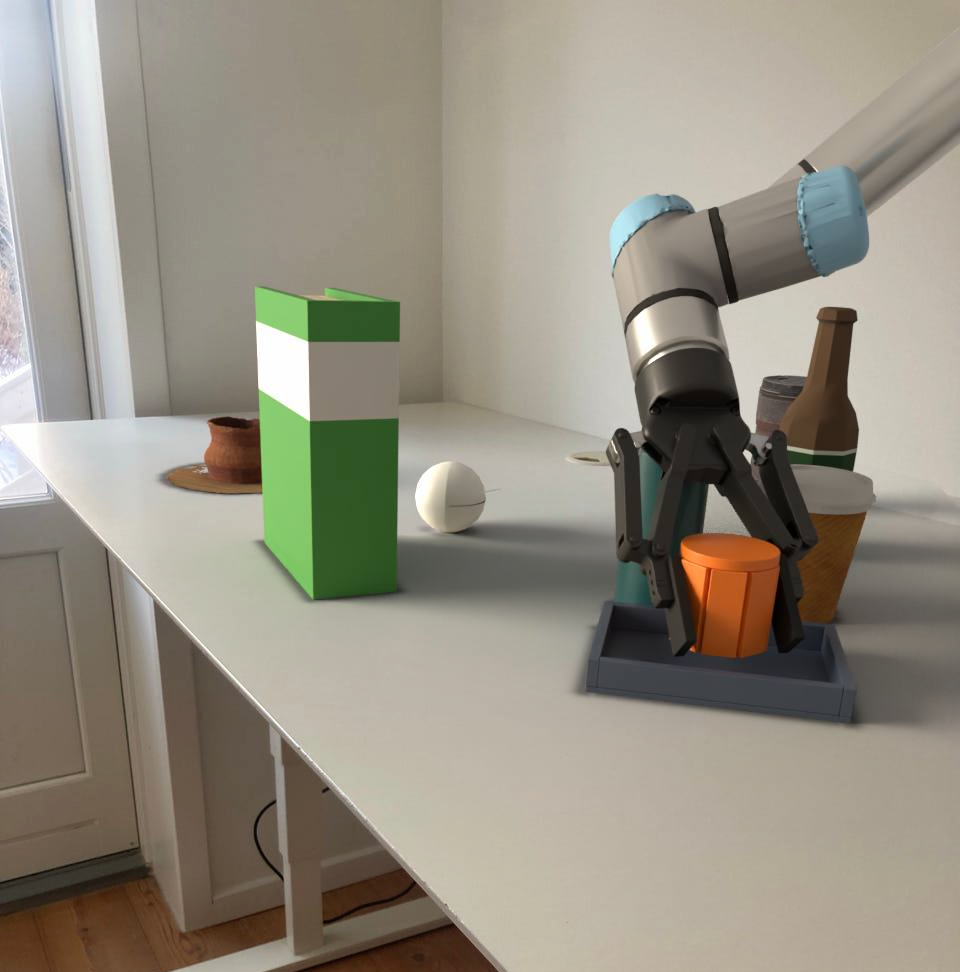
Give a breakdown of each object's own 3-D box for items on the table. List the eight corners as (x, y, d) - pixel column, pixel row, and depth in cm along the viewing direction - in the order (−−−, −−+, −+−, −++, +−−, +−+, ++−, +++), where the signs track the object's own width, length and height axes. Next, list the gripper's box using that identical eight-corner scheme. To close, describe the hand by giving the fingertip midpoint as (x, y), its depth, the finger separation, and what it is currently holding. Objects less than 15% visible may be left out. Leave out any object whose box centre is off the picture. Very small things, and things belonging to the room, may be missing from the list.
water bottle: (692, 605, 89) (715, 419, 83) (691, 632, 83) (716, 433, 77) (616, 597, 90) (633, 413, 84) (610, 623, 84) (628, 427, 78)
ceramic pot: (280, 458, 138) (279, 405, 135) (339, 486, 124) (338, 428, 122) (146, 469, 129) (142, 413, 126) (193, 501, 115) (189, 438, 112)
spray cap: (763, 628, 76) (777, 537, 74) (768, 662, 70) (784, 565, 68) (671, 618, 78) (682, 529, 75) (668, 651, 71) (679, 554, 69)
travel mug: (730, 503, 124) (747, 377, 119) (767, 494, 130) (785, 373, 124) (789, 517, 119) (809, 386, 113) (825, 508, 124) (846, 381, 119)
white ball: (430, 544, 103) (432, 471, 100) (404, 525, 109) (405, 456, 107) (519, 536, 107) (523, 466, 104) (489, 518, 113) (492, 452, 111)
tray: (829, 655, 79) (834, 624, 78) (850, 725, 68) (856, 690, 67) (601, 630, 82) (604, 600, 81) (584, 693, 71) (587, 659, 70)
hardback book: (264, 544, 101) (254, 286, 92) (337, 538, 104) (334, 287, 95) (313, 601, 86) (307, 300, 77) (396, 592, 89) (400, 302, 80)
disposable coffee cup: (819, 594, 93) (842, 463, 89) (874, 632, 84) (902, 489, 80) (720, 596, 91) (738, 462, 87) (766, 635, 83) (789, 489, 78)
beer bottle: (794, 563, 102) (835, 310, 93) (745, 542, 108) (779, 304, 100) (854, 556, 105) (899, 311, 96) (803, 536, 112) (841, 305, 103)
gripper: (781, 405, 84) (846, 663, 76) (545, 401, 81) (584, 672, 72) (823, 345, 78) (899, 621, 69) (567, 338, 74) (614, 628, 65)
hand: (738, 646), depth 70 cm, fingers closed on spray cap, 7 cm apart
